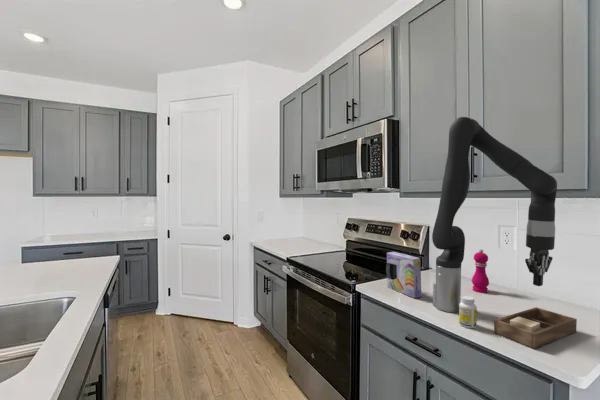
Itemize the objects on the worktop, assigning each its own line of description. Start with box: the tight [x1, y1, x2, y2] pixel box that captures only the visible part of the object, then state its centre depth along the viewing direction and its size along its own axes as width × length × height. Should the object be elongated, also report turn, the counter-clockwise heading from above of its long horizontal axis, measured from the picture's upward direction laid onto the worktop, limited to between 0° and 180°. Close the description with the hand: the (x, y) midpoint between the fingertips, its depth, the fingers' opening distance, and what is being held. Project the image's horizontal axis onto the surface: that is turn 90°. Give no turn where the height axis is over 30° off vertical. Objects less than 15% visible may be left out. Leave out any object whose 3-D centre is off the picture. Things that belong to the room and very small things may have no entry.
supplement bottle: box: [458, 295, 478, 329], centre depth 109 cm, size 5×5×10 cm
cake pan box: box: [385, 251, 422, 299], centre depth 145 cm, size 19×5×18 cm, turn 23°
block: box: [510, 317, 540, 333], centre depth 99 cm, size 6×6×4 cm
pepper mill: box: [471, 248, 490, 294], centre depth 148 cm, size 7×7×20 cm
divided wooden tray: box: [493, 306, 578, 350], centre depth 104 cm, size 12×26×4 cm, turn 118°
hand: (537, 285), depth 104 cm, fingers closed
